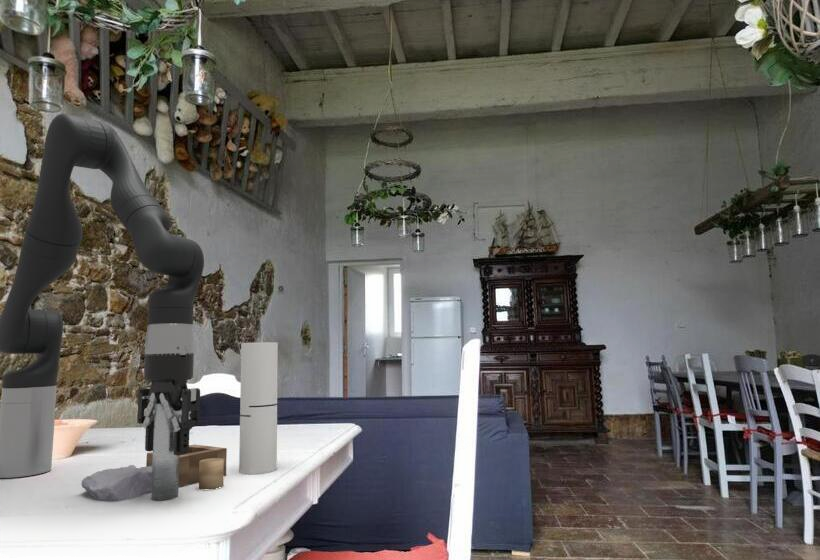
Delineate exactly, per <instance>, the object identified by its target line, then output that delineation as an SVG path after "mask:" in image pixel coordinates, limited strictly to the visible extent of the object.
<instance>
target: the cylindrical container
mask: <svg viewBox="0 0 820 560" xmlns="http://www.w3.org/2000/svg"><path fill="white" fill-rule="evenodd" d="M240 344H241V345H240V347H241V348H240V400H239V403H240V404H239V406H240V407H239V412H240V413H239V415H240V416H239V456H238V457H239V458H238V459H239V460H238V464H239V465H238V468H239V469H238V473H239V474H243V475H262V474H261V473H263V474H267V472H268V473H272V472H275V471H276V470H277V469H278V466H277V465H278V462H277V461H278V366H279V365H278V363H279V362H278V360H279V358H278V357H279V356H278V351H279V350H278V349H279V346H278V345H279V343H278V342H276V341H275V342H273V341H271V342H268V341H267V342H266V341H265V342H263V341H262V342H257V341H256V342H241V343H240ZM271 471H272V472H271Z"/></svg>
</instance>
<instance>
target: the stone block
mask: <svg viewBox="0 0 820 560" xmlns="http://www.w3.org/2000/svg"><path fill="white" fill-rule="evenodd" d="M81 486H82V488H83V489H84V490H85V491H86V492H87V493H88V494H89V495H90V496H93V498H94V499H97V500H99V501H101V502H121V501H126V500H132V499H135V498H138V497H142V496H145V495H148V494H151V490H152V466H147V467H146V466H141V467H138V468H137V467H136V465H134V464H130V465H128V466H124V467H122V466H121V467H118V468H107V469H101V470H100V471H95V472H94V473H92V474H90V475H88V476H85V477H83V478H82V480H81Z"/></svg>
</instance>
